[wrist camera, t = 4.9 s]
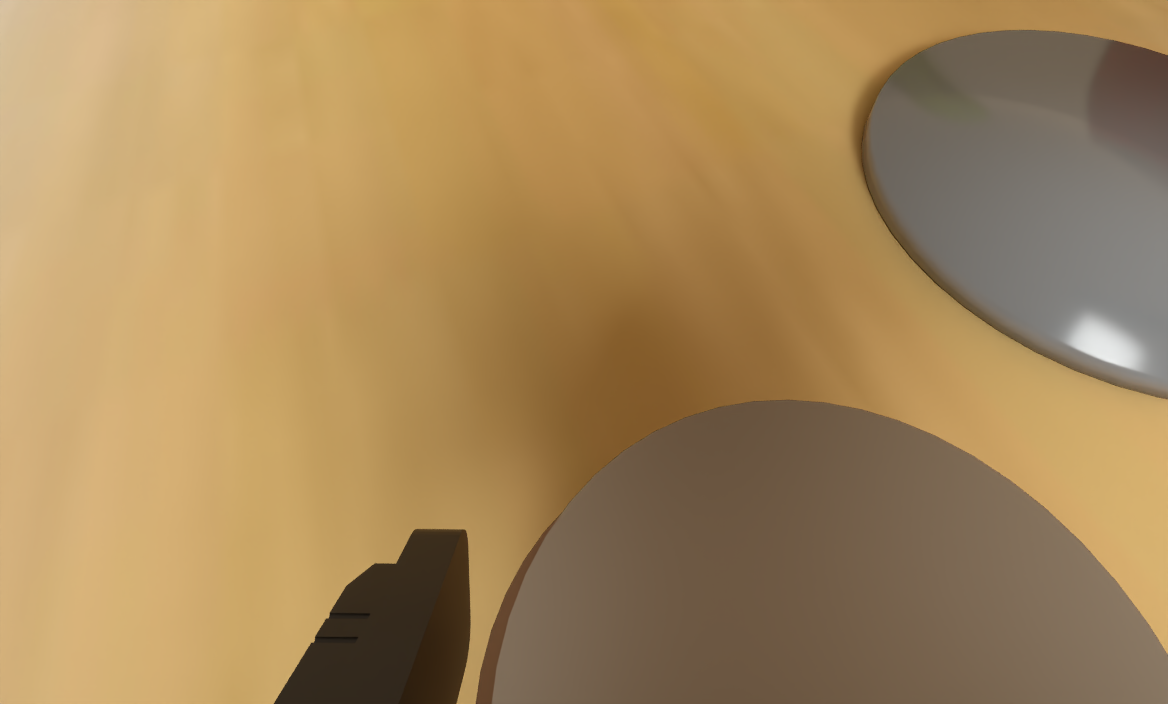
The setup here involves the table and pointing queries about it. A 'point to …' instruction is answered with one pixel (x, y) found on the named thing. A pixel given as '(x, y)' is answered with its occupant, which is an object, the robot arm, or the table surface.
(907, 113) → the trivet
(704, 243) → the table surface
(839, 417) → the pepper mill
